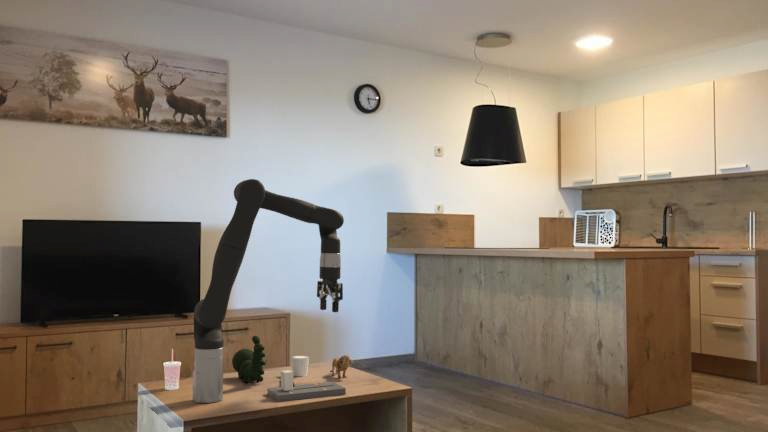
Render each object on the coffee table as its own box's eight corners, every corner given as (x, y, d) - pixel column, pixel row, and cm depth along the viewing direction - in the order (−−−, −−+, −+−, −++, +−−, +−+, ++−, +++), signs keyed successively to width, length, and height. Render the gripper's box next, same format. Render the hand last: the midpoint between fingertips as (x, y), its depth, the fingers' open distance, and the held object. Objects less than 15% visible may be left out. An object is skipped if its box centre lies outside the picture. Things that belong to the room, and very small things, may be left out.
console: (278, 401, 217) (278, 395, 217) (267, 393, 228) (267, 387, 228) (345, 394, 228) (345, 388, 228) (332, 387, 239) (332, 381, 239)
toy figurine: (270, 389, 242) (249, 371, 264) (273, 338, 241) (251, 324, 263) (245, 392, 237) (226, 373, 259) (247, 340, 236) (228, 325, 258)
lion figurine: (354, 379, 253) (354, 355, 254) (342, 380, 250) (342, 356, 251) (335, 372, 266) (335, 349, 266) (323, 374, 263) (324, 351, 263)
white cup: (307, 376, 257) (307, 358, 258) (290, 376, 257) (290, 358, 258) (309, 373, 264) (310, 355, 264) (292, 373, 264) (292, 355, 264)
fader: (284, 396, 223) (284, 372, 223) (280, 393, 226) (281, 370, 226) (293, 395, 224) (293, 372, 224) (289, 393, 227) (289, 370, 228)
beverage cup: (182, 389, 235) (183, 349, 236) (165, 391, 232) (165, 350, 232) (178, 385, 240) (179, 346, 241) (161, 387, 237) (161, 348, 238)
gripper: (311, 265, 243) (310, 309, 243) (331, 266, 232) (330, 313, 231) (329, 265, 248) (328, 308, 247) (349, 266, 236) (348, 312, 235)
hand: (329, 310), depth 239 cm, fingers open, 8 cm apart
